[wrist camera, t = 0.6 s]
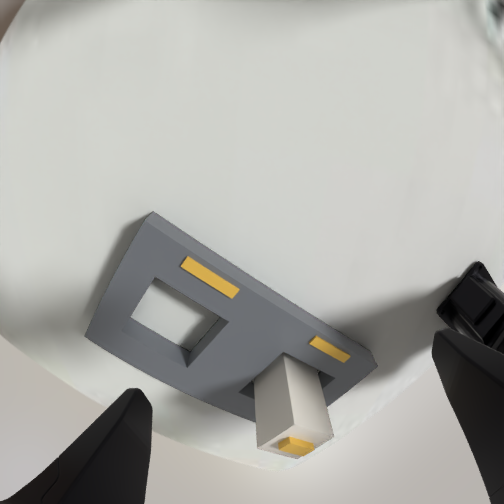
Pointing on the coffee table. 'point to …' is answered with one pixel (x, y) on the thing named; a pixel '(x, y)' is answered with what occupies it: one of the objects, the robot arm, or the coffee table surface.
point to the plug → (290, 408)
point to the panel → (217, 325)
